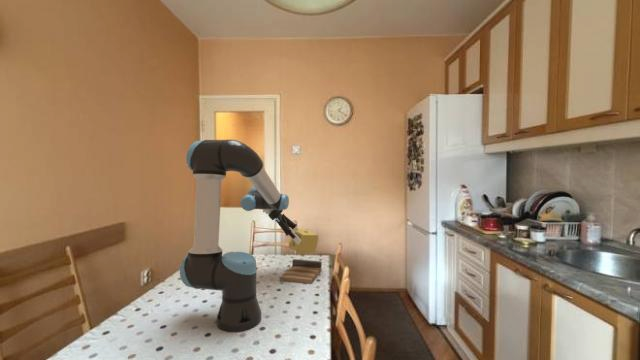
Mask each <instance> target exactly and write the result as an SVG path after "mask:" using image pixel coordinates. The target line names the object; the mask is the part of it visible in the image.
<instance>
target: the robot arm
mask: <svg viewBox="0 0 640 360" xmlns="http://www.w3.org/2000/svg"><path fill="white" fill-rule="evenodd" d="M185 160H186V164H187V167H188V169H189V170H190V171H192V177H194V179H196V190H195V191H196V192H195V210H194V228H193V231H194V232H193V245H192V247H191V248H190V249H188V253H187V254H186V255H185V256H184V257H183V259H182V262H180V265H179V277H180V280H181V282H182V283H183V284H184V286H186V287H188V288H191V289H192V288H193V289H196V290H200V289H201V290H211V291H221V294H222V295H221V304H220V307H219V309H218V312H217V314H216V326H217V327H218V328H219V329H220V330H222V331H226V332H232V333H233V332H241V331H242V332H243V331H247V330H249V329H252V328H254V327H256V326H257V325H259V324H260V322H261V321H262V310H261V306H260V305H259V304H260V303H259V301H258V299H257V272H258V271H257V270H258V267H257V259H256V258H255V257H254V255H253V254H250V253H248V252H243V251H228V252H225V253H224V254H223V248H222V247H220V246H219V245H220V244H219V243H220V242H219V239H220V220H221V219H220V218H221V204H222V203H221V201H222V200H221V199H222V182H223V180H224V179H225V178H226V177H227V172H235V173H236V172H237V173H239V174H240V175H241V176H242V177H244V178H247V179H248V181H249V182H250V183H251V185H252V186H253V187H251V188H250V189H249V191H248V192H247V194H245V195H244V196H243V197H242V198H241V199H240V207H241V208H242V210H244V211H246V212H251V211H254V210H262V212H263V213H265V215H268V216H267V217H269V218H270V220H272V221H275V222H276V223H277V224H278V226H279V227H280V229H281V230H282V231H283V232H284V234H285V236H287V237H289V238H290V239H291V238H292V239H293V240H294V241H295V242H296V243H297V244H298V243H299V242H300V241H301V239H300V238H299V237H298V236H297V235H296V234H295V233H294V232H295V231H297V230H298V229H299V227H297V226H298V224H297V223H294V222H293V220H291V219H290V218H289V217H287V216H286V215H285V214H284V213H282V212H283V211H285V210H288V208H289V203H290V200H289V199H290V197H289V195H288V194H285V193H280V191H279V190H278V188H277V187H276V185H275V183H274V182H273V180H272V179H271V177H270V175H269V174H268V173H267V171H266V169H265V168H264V162H263V160H262V158H261V157H260V155H259V154H258V153H257V151H255V150H254V149H253V148H252V147H251V146H248V145H247V144H245V143H244V142H241V141H240V140H237V139H230V138H229V139H204V140H196V141H194V142H193V143H192V144H191V145H190V146H189V148H188V150H187V152H186V159H185Z"/></svg>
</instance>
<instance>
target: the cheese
mask: <svg viewBox="0 0 640 360" xmlns="http://www.w3.org/2000/svg"><path fill="white" fill-rule="evenodd" d="M293 232H294V231H293ZM294 233H295V234H296V235H297V236H298V237H299V238H300V239H301V241H300V242H299V243H298V244H297V243H296V242H295V241H294V240H293V239H292V238H291V237H290V240H289V243H288V247H289V248H290V249H291V250H293V251H295V252H296V253H297V254H299V255H302V254H313V253H314V254H315V252H316V249H317V246H318V242H319V235H318V234H317V233H315V232H313V231H311V230H309V229H306V228H305V229H303V228H298V230H297V231H295V232H294Z"/></svg>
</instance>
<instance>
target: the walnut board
mask: <svg viewBox="0 0 640 360" xmlns="http://www.w3.org/2000/svg"><path fill="white" fill-rule="evenodd" d="M322 266H323V265H322V260H321V261H319V260H308V259H307V260H306V259H298V258H297V259H295V258H294V259H292V264H291V266H290V267H289V268H288V269H287V270H285V272H283V274H281V275H280V277H279V281H280V282H289V283H298V284H309V285H311V284H313V283H314V281H315V280H316V279H317V277H318V276H319V274H321V272H322V270H323V269H322V268H323V267H322Z"/></svg>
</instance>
